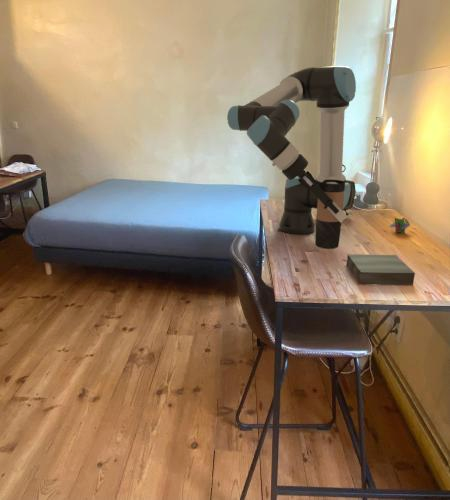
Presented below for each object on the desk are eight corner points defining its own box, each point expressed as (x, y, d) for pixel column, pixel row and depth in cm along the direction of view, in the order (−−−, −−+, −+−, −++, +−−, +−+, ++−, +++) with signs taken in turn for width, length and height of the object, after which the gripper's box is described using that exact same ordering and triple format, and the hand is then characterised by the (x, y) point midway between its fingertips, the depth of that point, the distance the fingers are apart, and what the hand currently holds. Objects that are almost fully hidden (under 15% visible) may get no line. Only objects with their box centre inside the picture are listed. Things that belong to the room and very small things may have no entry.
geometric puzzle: (400, 232, 174) (408, 215, 175) (385, 228, 179) (393, 211, 180) (406, 239, 179) (414, 222, 180) (391, 235, 184) (399, 219, 185)
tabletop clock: (328, 219, 201) (332, 166, 193) (316, 215, 209) (320, 163, 201) (352, 216, 206) (358, 164, 198) (340, 212, 214) (345, 162, 206)
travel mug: (342, 249, 129) (348, 184, 123) (316, 249, 129) (321, 184, 123) (336, 241, 136) (341, 179, 130) (312, 241, 137) (316, 179, 130)
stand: (346, 265, 144) (347, 254, 142) (394, 266, 143) (395, 254, 142) (359, 284, 128) (361, 272, 127) (412, 285, 128) (415, 272, 127)
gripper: (277, 165, 135) (324, 215, 140) (284, 177, 116) (338, 234, 121) (295, 148, 133) (342, 199, 138) (305, 157, 114) (359, 216, 119)
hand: (340, 215), depth 130 cm, fingers closed on travel mug, 7 cm apart
